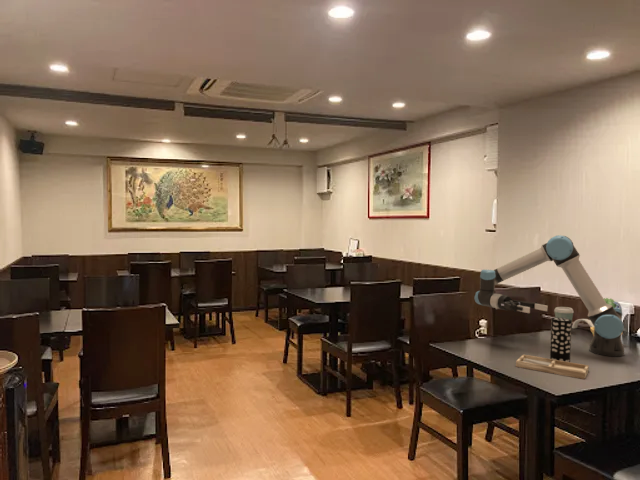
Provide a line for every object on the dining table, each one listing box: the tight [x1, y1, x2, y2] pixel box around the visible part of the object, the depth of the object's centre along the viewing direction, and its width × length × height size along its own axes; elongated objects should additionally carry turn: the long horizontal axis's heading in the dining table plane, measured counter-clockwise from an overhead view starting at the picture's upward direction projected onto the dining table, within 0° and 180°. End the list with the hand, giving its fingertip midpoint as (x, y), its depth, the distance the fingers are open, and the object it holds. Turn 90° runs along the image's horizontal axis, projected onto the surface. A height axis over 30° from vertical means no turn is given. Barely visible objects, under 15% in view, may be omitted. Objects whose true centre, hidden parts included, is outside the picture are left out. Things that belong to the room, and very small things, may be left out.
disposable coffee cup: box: [553, 306, 575, 321], centre depth 283 cm, size 11×11×15 cm
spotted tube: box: [549, 317, 573, 362], centre depth 221 cm, size 8×8×20 cm
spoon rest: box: [571, 318, 594, 329], centre depth 288 cm, size 24×12×7 cm, turn 31°
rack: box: [515, 354, 590, 380], centre depth 210 cm, size 14×27×2 cm, turn 55°
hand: (538, 309), depth 230 cm, fingers open, 13 cm apart
